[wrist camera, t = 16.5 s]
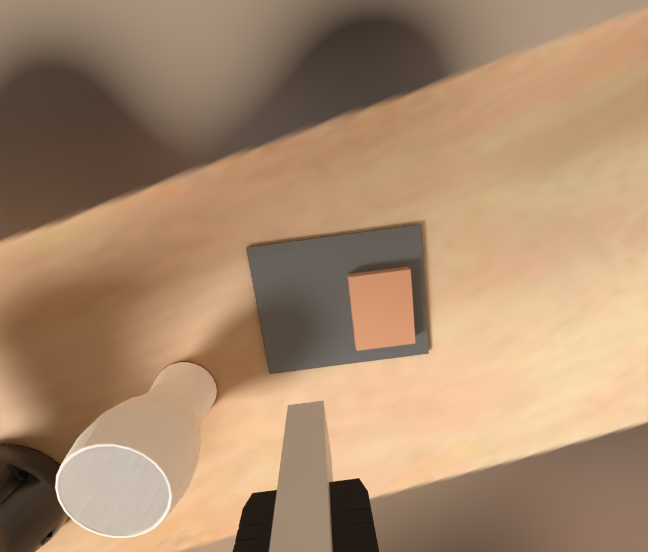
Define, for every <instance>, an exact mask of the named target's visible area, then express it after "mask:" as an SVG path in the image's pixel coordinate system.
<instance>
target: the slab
mask: <svg viewBox="0 0 648 552" xmlns="http://www.w3.org/2000/svg"><path fill="white" fill-rule="evenodd" d="M347 277H348V286H349V295H350V303H351V312H352V321H353V330H354V339H355V346H356V350H357V351H359V350H367V349H375V348H383V347H391V346H399V345H407V344H415V328H414V313H413V297H412V282H411V269H409V268H408V267H400V268H392V269H384V270H377V271H369V272H361V273H353V274H347Z"/></svg>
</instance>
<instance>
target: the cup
mask: <svg viewBox="0 0 648 552" xmlns="http://www.w3.org/2000/svg"><path fill="white" fill-rule="evenodd" d="M216 395H217V388H216V384H215V381H214V379H213V377H212V376H211V375H210V373H209V372H208V371H206V370H205V369H204V368H203V367H201V366H198V365H196V364H193V363H189V362H178V363H175V364H171V365H169V366H168V367H166V368H164V370H163V371H162V372H161V373H160V374H159V375H158V377H157V378H156V380H155V382H154V383H153V385H152V387H151V389H150V390H149V391H148V392H147V393H145V394H144V395H140V396H137V397H133V398H130V399H128V400H126V401H124V402H122V403H120V404H118V405H116V406H114V407H113V408H111V409H109V410H107V411H106V412H104V413H102V414H101V415H100V416H99V417H98V418H97V419H96V420H95V421H94V422H93V423H92V424H91V425H90V426H89V427H88V428H87V429H86V430H85V431H84V432H83V433H82V434H81V435H80V436H79V437H78V438H77V440H76V441H75V443H74V445H73V446H72V448H71V449H70V451H69V453H68V454H67V456H66V457H65V459H64V461H63V462H62V464H61V466H60V468H59V470H58V473H57V475H56V485H55V489H56V493H57V498H58V501H59V503H60V504H61V506H62V508H63V510H64V511H65V513H66V514H67V515H68V516H69V517H70V518H71V519H72V520H73V521H74V522H76V523H77V524H79V525H80V526H82V527H83V528H85V529H86V530H89V531H91V532H94V533H96V534H99V535H102V536H108V537H114V538H127V537H133V536H138V535H142V534H144V533H146V532H148V531H150V530H152V529H154V528H156V527H157V526H158V525H159V524H160V523H161V522H162V521H163V520H164V519H165V518H166V517H167V516H168V514H169V513H170V512H171V510H172V509H173V508H174V507H175V505H176V504H177V503H178V501H179V500H180V499H181V498H182V496H183V494H184V493H185V491H186V489H187V487H188V486H189V484H190V481H191V479H192V477H193V475H194V472H195V470H196V468H197V463H198V458H199V451H200V441H201V439H200V429H199V423H200V420H201V419H202V418H203V417H204V415H205V414H206V413H207V412H208V411H209V409H210V408H211V407H212V405H213V403H214V401H215V400H216Z"/></svg>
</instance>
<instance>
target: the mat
mask: <svg viewBox="0 0 648 552" xmlns="http://www.w3.org/2000/svg"><path fill="white" fill-rule="evenodd" d="M246 249H247V254H248V260H249V265H250V270H251V276H252V281H253V287H254V292H255V297H256V303H257V308H258V313H259V319H260V324H261V330H262V335H263V340H264V346H265V351H266V357H267V362H268V367H269V373H270V374H272V373H280V372H288V371H296V370H304V369H311V368H319V367H327V366H335V365H343V364H350V363H358V362H366V361H374V360H382V359H389V358H397V357H405V356H413V355H421V354H428V353H429V352H428V335H427V319H426V302H425V286H424V269H423V253H422V236H421V225H411V226H404V227H396V228H388V229H381V230H373V231H366V232H358V233H351V234H343V235H335V236H328V237H320V238H313V239H305V240H298V241H290V242H282V243H275V244H267V245H260V246H252V247H247V248H246ZM400 267H408V268H409V269H411V282H412V297H413V313H414V328H415V344H407V345H399V346H391V347H383V348H375V349H367V350H359V351H357V350H356V346H355V339H354V330H353V321H352V312H351V303H350V295H349V286H348V277H347V274H353V273H361V272H369V271H377V270H384V269H392V268H400Z"/></svg>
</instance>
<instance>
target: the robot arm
mask: <svg viewBox="0 0 648 552" xmlns="http://www.w3.org/2000/svg"><path fill="white" fill-rule="evenodd" d="M59 468H60V466H59V465H58V464H57V463H56V462H54V461H53V460H52V459H50V458H49V457H47V456H46V455H44V454H42V453H40V452H38V451H35V450H33V449H30V448H27V447H22V446H17V445H0V552H35V551H36V550H38V549H39V548H40V547H41V546H43V545H44V544H45V543H47V542H48V541H49V540H50V539H51V538H52V537H53V536H54V535H55V534H56V533H57V532H58V531H59V530H60V528H61V527H62V526H63V525H64V523H65V522H66V521H67V519H68V518H69V516H68V515H67V514H66V513H65V511H64V510H63V508H62V506H61V504H60V503H59V501H58V498H57V493H56V489H55V485H56V475H57V473H58V470H59ZM233 552H379V548H378V543H377V538H376V533H375V527H374V522H373V516H372V511H371V506H370V500H369V495H368V491H367V489H366V488H365V487H364V485H363V484H362V482H361V481H360V479H359V478H358V479H351V480H343V481H335V482H333V475H332V461H331V451H330V444H329V437H328V430H327V422H326V415H325V408H324V401H317V402H310V403H302V404H294V405H288V409H287V417H286V424H285V432H284V440H283V448H282V455H281V463H280V471H279V478H278V486H277V490H274V491H266V492H258V493H252V495H251V497H250V498H249V500H248V501H247V503H246V505H245V506H244V508H243V510H242V515H241V519H240V523H239V530H238V532H237V536H236V541H235V545H234V549H233Z"/></svg>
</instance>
